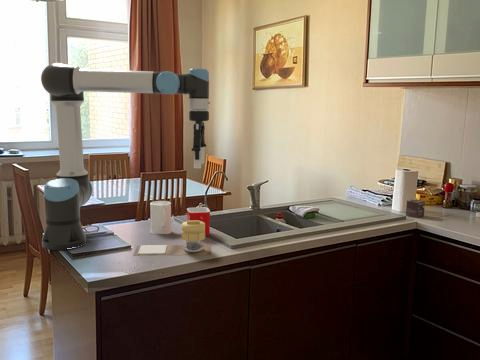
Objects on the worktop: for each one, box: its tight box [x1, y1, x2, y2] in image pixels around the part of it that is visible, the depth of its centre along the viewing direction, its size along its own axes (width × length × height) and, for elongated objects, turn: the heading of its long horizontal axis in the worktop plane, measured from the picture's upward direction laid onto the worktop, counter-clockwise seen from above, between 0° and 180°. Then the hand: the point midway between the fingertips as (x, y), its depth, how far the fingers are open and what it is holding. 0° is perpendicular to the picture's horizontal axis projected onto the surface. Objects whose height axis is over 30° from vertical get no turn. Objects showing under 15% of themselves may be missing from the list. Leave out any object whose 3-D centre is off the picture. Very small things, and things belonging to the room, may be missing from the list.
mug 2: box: [186, 206, 211, 237], centre depth 182 cm, size 12×8×11 cm
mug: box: [149, 200, 173, 235], centre depth 188 cm, size 12×8×12 cm
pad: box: [138, 244, 168, 255], centre depth 164 cm, size 9×9×1 cm
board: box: [132, 244, 212, 257], centre depth 165 cm, size 26×11×1 cm, turn 95°
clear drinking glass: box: [183, 240, 204, 253], centre depth 164 cm, size 7×7×7 cm
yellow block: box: [181, 220, 206, 242], centre depth 164 cm, size 8×8×6 cm
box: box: [405, 198, 426, 219], centre depth 221 cm, size 6×6×7 cm
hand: (199, 165), depth 184 cm, fingers open, 13 cm apart
